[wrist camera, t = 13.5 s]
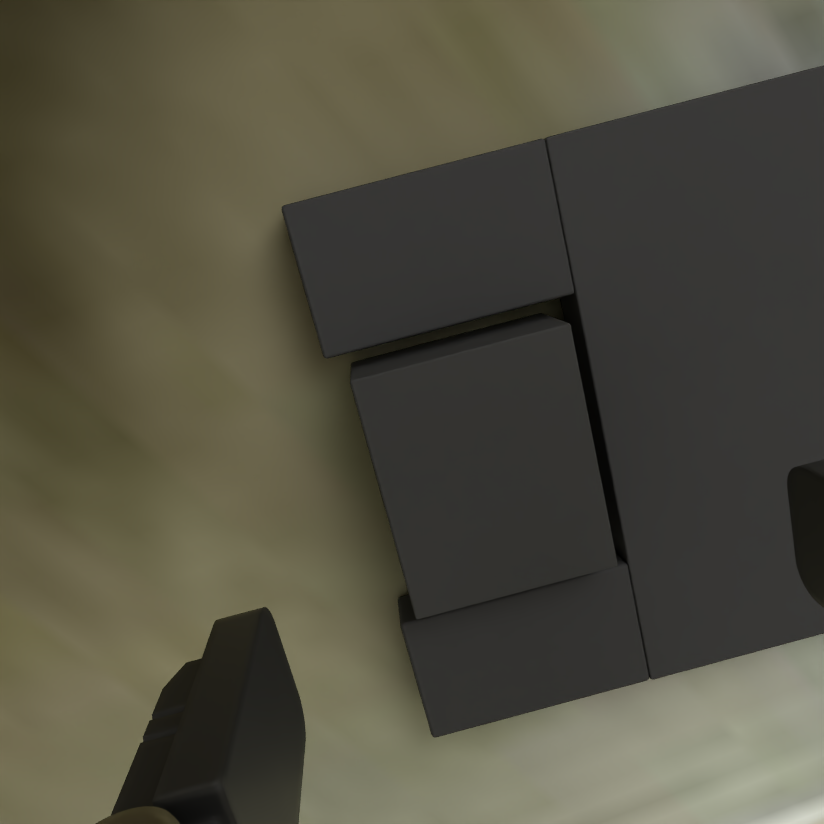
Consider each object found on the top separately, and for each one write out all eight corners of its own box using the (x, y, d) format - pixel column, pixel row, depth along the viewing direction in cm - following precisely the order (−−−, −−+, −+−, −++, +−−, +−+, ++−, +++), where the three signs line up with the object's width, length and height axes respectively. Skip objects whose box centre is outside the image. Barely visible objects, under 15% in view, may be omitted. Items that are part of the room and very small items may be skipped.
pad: (350, 362, 18) (349, 380, 16) (542, 312, 18) (570, 322, 16) (408, 574, 19) (416, 621, 17) (586, 526, 20) (618, 566, 17)
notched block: (287, 209, 17) (279, 206, 16) (1008, 22, 17) (1067, 1, 16) (427, 704, 20) (432, 739, 19) (1030, 542, 21) (1082, 564, 19)
